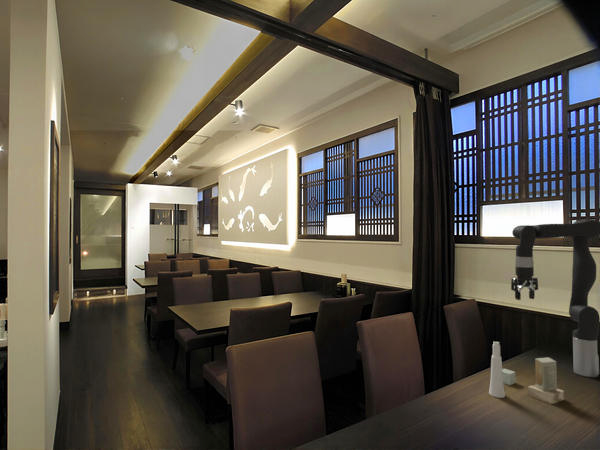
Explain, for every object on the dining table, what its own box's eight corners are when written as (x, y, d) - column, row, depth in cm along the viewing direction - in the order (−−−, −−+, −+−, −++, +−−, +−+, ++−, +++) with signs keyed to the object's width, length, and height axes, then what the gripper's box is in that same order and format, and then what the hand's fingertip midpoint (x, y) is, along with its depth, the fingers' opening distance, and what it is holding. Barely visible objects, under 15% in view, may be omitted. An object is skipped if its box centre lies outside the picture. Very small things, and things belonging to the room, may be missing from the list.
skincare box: (549, 385, 148) (549, 356, 148) (557, 390, 144) (557, 361, 143) (534, 386, 148) (534, 357, 147) (542, 391, 144) (542, 362, 143)
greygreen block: (504, 379, 165) (504, 368, 165) (515, 383, 161) (515, 371, 161) (498, 381, 162) (498, 370, 162) (509, 385, 158) (509, 374, 158)
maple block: (540, 391, 152) (540, 382, 152) (564, 400, 144) (563, 390, 144) (528, 396, 148) (528, 386, 148) (551, 405, 140) (551, 395, 140)
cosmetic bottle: (488, 396, 147) (488, 343, 148) (488, 390, 152) (488, 339, 153) (505, 399, 144) (504, 345, 145) (504, 393, 150) (504, 341, 150)
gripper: (528, 265, 178) (529, 297, 177) (506, 265, 174) (506, 298, 173) (542, 266, 171) (543, 299, 170) (519, 267, 167) (520, 301, 166)
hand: (524, 299), depth 172 cm, fingers open, 8 cm apart
